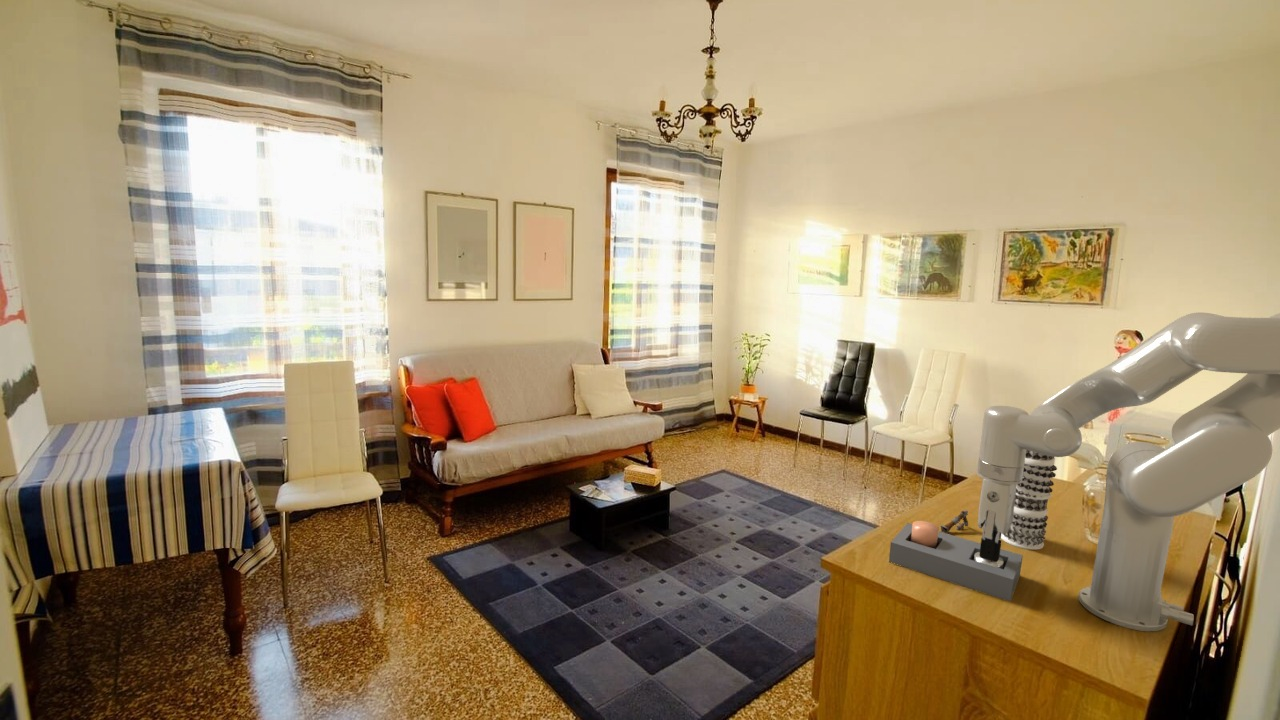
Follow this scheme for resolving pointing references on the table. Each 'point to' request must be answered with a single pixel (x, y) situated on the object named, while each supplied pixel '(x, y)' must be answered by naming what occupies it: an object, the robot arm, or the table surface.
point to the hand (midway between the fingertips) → (989, 557)
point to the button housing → (957, 563)
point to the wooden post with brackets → (955, 521)
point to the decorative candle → (1032, 502)
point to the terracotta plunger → (925, 533)
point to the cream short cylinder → (988, 561)
